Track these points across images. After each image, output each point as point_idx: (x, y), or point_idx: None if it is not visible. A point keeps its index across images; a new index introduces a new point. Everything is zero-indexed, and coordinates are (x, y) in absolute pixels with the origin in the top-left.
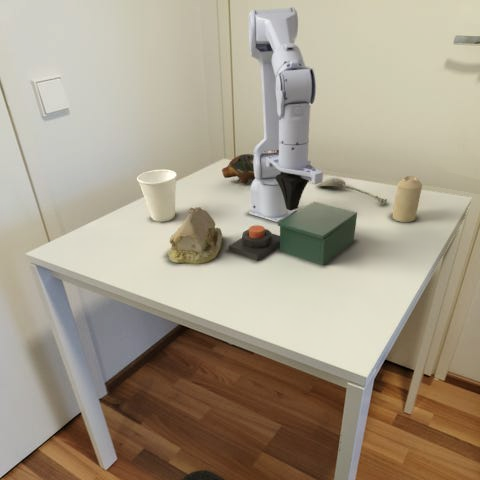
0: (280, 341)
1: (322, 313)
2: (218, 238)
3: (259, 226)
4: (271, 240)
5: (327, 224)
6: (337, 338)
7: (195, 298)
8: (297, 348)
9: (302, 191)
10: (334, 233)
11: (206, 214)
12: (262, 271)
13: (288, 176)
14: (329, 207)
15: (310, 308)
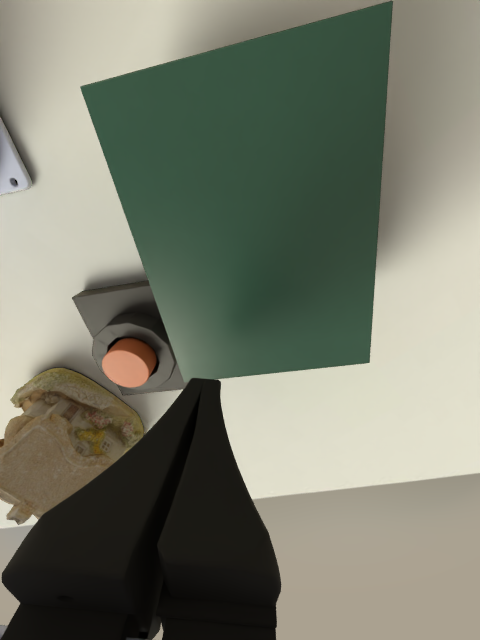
0: (396, 479)
1: (422, 416)
2: (86, 402)
3: (116, 356)
4: (162, 323)
5: (331, 282)
6: (472, 442)
7: None
8: (424, 477)
9: (230, 450)
10: None
11: (16, 455)
12: (243, 393)
13: (149, 629)
14: (207, 89)
15: (396, 418)
